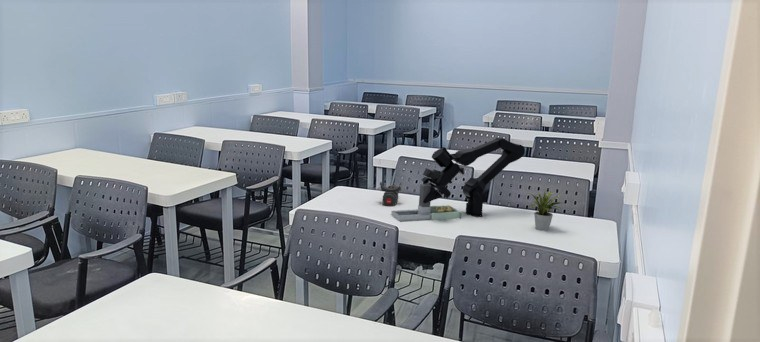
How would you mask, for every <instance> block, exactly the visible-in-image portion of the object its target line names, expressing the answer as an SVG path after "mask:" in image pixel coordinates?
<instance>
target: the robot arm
mask: <svg viewBox="0 0 760 342" xmlns="http://www.w3.org/2000/svg"><path fill="white" fill-rule="evenodd" d="M499 149H501V150H503V151H502V153H501V155H500V157H499V158H497V159H496V160H495V161H494V162H493V163H492V164H491V165H490V166H488V168H487V169H486V170H484V172H482V173H481V174H480V175H479V176H478V177H477V178H475V177H470V178H469V179H468V180H467V181H466V182H464V185H463V187H462V193H463V195H464V196H465V199H466V200H467V202H466V203H465V214H466V215H467V216H472V217H483V204H484V203H485V202H486V201H487V197H486V196H485V195H484V194H483V193H484V192H485V189H486V186H487V185H488V184H489V183H490V182H491V181H492V180H493V179H494V178H495V177H497V176H498V175H499V174H501V172H502V171H504V169H505V168H506V167H507V166H508V165H510V164H512V163H514V162H516V161H518V160H520V159H522V158H523V157H524V156H525V154H526V149H525V147H524V145H522V144H518V143H515V142H511V141H509V140H507V139H506V138H503V137H495V139H492V140H489V141H488V142H485V143H483V144H480V145H477V146H476V147H472V148H466V149H461V150H457V151H456V152H455V153H450V152H449V151H448V149H447V147H444V146H442V147H441V148H439V149H437V150H435V151H434V152H433V153H432V155H431V158H432V160H433V161H434V162H435V163H436V164H437V165H438V166H439V167H440V168H443V169H442V170H437V169H435V168H434V169H433V170H432V169H430V168H428V167H426V168H425V169H424V171H423V173H422V175H423V178H422V179H421V181H422V183H423V184H429V185H431V191H430V193H429V194H428V195H427V197H426V198H425V199H424V201H423V203H428V202H430V201H431V202H432V201H435V200H438V199H440V198H443V197H444V198H446V199H448V198H450V197H451V191H450V190H449V189H448V187H447V186H448V185H449V184H452V183H453V181H452V180H453V179H454V178H456V176H457V175H458V174H461V175H465V168H464V167H468V166H469V165H471V164H472V163H474V162H475V161H476V160H478V159H479V158H481V157H483V156H486V155H487V154H490V153H491V152H494V151H497V150H499ZM460 165H461V166H460ZM462 166H463V167H462ZM431 202H430V203H431Z"/></svg>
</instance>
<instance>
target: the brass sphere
mask: <svg viewBox="0 0 760 342" xmlns="http://www.w3.org/2000/svg"><path fill="white" fill-rule="evenodd" d="M437 206H438V207H437V208H436V209H435V213H443V212H445V210H444V208H443V207H441V206H442V205H437Z"/></svg>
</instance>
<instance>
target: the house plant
mask: <svg viewBox="0 0 760 342" xmlns="http://www.w3.org/2000/svg"><path fill="white" fill-rule="evenodd" d="M546 189H547V188H545V189H544V190H543V196H542V194H541V193H540V192H539V191H537V194H538V197H539V198H538V197H537V196H536V195H535V193H534V192H532V193H527V194H530V195H531V196H532V197H533V198H534V200H532V202H533V203H534V204H536V205H537V206H536V205H534V204H530V206H529V207H530V209H532V208H533V209H534V208H535V209H537V211H534V213H533V214H534V225H535V226H534V227H535V229H536V230H538V231H550V226H551V223H552V219H553V215H554V214H553V213H552V212H551V210H558V211H560V209H561V210H562V208H561V207H560V206H558V205H559V204H563V202H562V201H561V202H559V201H556V200H558V198H559V197H560V196H561V194H559V195H556V196H555V197H553V198H551V199H550V197H551V196H552V194H554V193H555V191H553V192H552V190H550V191H548V193H547V194H546ZM553 201H555V202H553Z"/></svg>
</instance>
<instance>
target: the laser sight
mask: <svg viewBox="0 0 760 342" xmlns="http://www.w3.org/2000/svg"><path fill="white" fill-rule="evenodd" d="M379 186H380V189H381V191H382V192H384V193H383V195H382V204H383V205H384V206H385V207H393V206H395V205H396V204H397V202H398V200H399V199H398V198H399V192H400V191H401V190H402V182H400V183H399V186H397V185H395V184H392V185H388V187H387V186H385V185H384V184H383V182H382V181H379Z"/></svg>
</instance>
